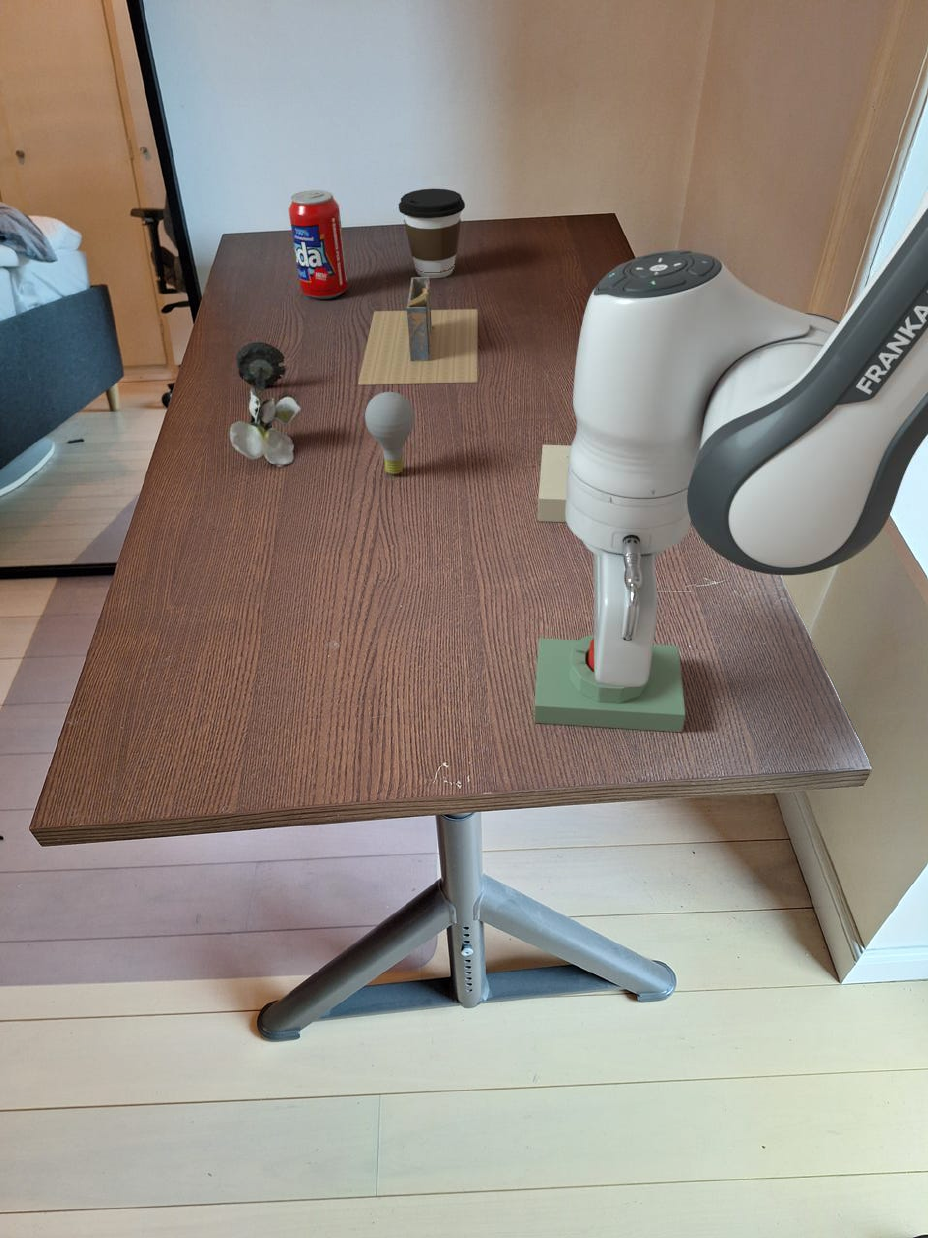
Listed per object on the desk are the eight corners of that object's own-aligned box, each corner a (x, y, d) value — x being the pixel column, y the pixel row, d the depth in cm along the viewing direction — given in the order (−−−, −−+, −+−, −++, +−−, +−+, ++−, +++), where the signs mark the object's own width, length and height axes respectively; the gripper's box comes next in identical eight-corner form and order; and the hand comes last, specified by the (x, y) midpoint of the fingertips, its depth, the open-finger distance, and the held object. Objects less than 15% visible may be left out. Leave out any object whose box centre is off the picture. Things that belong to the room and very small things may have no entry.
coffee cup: (431, 288, 141) (427, 211, 133) (390, 271, 147) (384, 197, 139) (479, 271, 146) (478, 196, 138) (438, 255, 152) (435, 183, 144)
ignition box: (674, 663, 75) (681, 630, 72) (681, 732, 69) (689, 699, 66) (538, 655, 76) (539, 622, 73) (534, 723, 70) (535, 690, 68)
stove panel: (662, 462, 99) (666, 438, 97) (670, 527, 90) (674, 502, 88) (542, 458, 101) (543, 434, 99) (537, 521, 91) (538, 496, 89)
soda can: (358, 291, 141) (347, 194, 131) (321, 305, 137) (306, 206, 127) (329, 280, 145) (317, 184, 135) (292, 293, 141) (276, 196, 131)
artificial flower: (300, 389, 118) (309, 324, 111) (290, 494, 104) (299, 428, 96) (234, 377, 116) (239, 310, 109) (214, 483, 101) (218, 414, 94)
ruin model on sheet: (477, 382, 116) (476, 311, 109) (357, 384, 116) (349, 314, 110) (477, 309, 134) (476, 245, 128) (374, 311, 135) (368, 247, 128)
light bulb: (423, 481, 98) (417, 401, 91) (377, 489, 97) (368, 409, 90) (412, 457, 102) (406, 379, 95) (367, 465, 101) (358, 387, 94)
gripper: (688, 597, 51) (658, 744, 61) (666, 427, 66) (644, 566, 76) (583, 592, 52) (569, 738, 61) (584, 424, 67) (573, 562, 76)
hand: (611, 641), depth 69 cm, fingers closed
